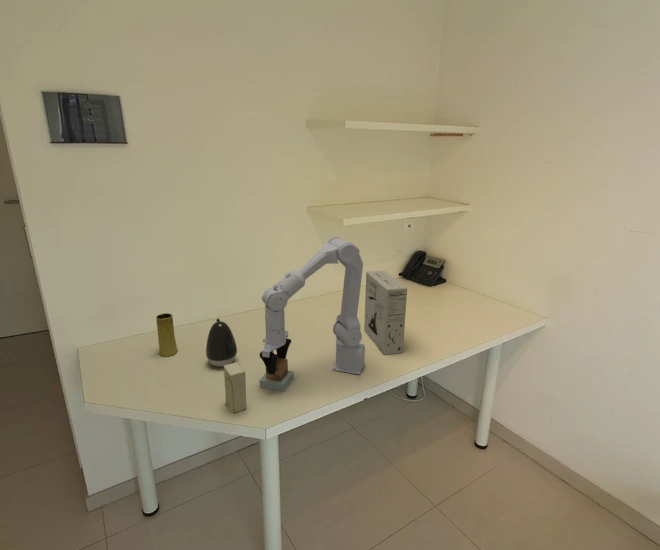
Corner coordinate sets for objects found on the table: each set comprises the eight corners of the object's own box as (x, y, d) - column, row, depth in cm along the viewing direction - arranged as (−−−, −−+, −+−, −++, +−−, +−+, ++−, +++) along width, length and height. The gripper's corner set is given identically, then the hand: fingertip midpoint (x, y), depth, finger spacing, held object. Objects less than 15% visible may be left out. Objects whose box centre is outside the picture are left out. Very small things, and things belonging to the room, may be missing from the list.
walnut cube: (287, 373, 128) (287, 359, 127) (280, 381, 124) (280, 367, 122) (273, 370, 130) (273, 356, 128) (266, 378, 125) (265, 364, 124)
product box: (363, 330, 165) (366, 271, 158) (381, 328, 167) (384, 270, 160) (383, 355, 145) (387, 289, 138) (403, 353, 147) (407, 287, 140)
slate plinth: (293, 379, 130) (293, 371, 130) (283, 393, 123) (283, 384, 122) (271, 375, 133) (270, 367, 132) (259, 388, 125) (259, 380, 125)
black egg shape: (235, 353, 146) (232, 314, 141) (239, 367, 136) (237, 326, 132) (205, 358, 142) (202, 317, 138) (208, 372, 133) (204, 330, 128)
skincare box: (225, 402, 118) (222, 365, 114) (240, 397, 120) (237, 361, 116) (232, 414, 113) (229, 375, 109) (247, 409, 115) (245, 371, 111)
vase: (175, 356, 143) (171, 319, 139) (157, 357, 142) (152, 320, 138) (179, 348, 149) (175, 312, 145) (161, 349, 148) (156, 313, 144)
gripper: (273, 316, 130) (274, 354, 134) (251, 335, 117) (254, 376, 121) (293, 319, 128) (294, 357, 132) (274, 338, 115) (275, 381, 119)
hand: (276, 367), depth 126 cm, fingers open, 7 cm apart
